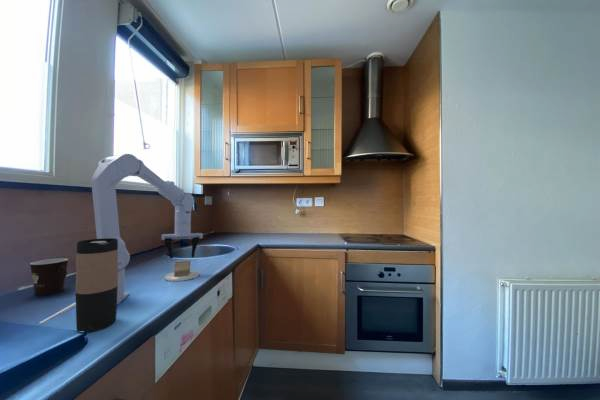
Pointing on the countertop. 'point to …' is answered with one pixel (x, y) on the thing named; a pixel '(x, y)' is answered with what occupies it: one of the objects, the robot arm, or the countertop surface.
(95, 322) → the travel mug
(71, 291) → the countertop surface
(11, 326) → the countertop surface
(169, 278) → the saucer
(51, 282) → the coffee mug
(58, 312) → the fork
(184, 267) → the beech cube
